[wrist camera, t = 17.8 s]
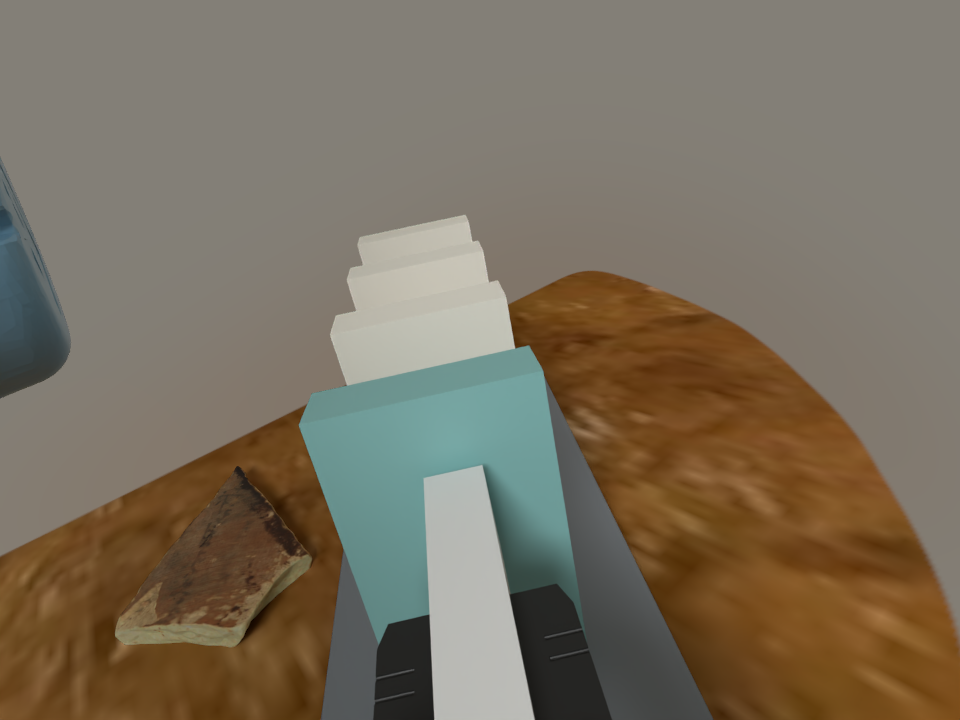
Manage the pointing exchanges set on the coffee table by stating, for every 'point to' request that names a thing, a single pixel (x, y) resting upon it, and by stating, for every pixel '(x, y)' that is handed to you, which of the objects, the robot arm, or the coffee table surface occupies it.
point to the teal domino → (433, 451)
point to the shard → (217, 573)
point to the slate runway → (605, 608)
